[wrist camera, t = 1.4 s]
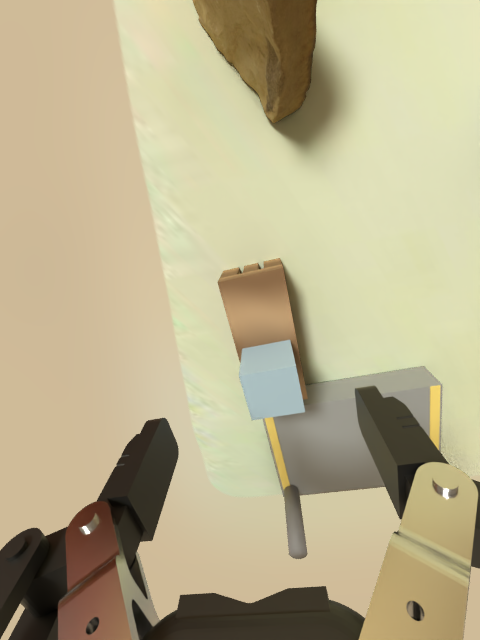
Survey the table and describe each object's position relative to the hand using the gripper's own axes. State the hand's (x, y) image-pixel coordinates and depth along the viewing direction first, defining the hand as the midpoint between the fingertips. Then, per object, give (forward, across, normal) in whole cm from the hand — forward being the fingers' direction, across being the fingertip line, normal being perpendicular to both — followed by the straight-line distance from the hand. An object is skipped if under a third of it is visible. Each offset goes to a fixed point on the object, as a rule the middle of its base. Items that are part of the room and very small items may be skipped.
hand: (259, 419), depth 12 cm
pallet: (+15, 0, +2) cm, 16 cm away
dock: (+15, -6, +16) cm, 23 cm away
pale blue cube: (+11, 0, +4) cm, 12 cm away
